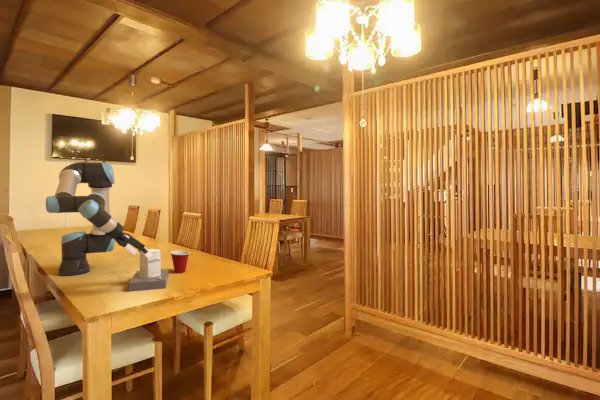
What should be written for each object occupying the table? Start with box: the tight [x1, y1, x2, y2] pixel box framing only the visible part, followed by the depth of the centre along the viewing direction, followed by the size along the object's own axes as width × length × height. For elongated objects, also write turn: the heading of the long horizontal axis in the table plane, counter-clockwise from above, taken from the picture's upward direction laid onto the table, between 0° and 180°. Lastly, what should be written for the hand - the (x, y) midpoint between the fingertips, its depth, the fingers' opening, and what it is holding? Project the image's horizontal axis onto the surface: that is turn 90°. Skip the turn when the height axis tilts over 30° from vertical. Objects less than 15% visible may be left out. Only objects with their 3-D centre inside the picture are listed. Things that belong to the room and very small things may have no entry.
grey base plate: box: [128, 268, 170, 292], centre depth 166 cm, size 24×16×5 cm, turn 19°
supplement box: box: [139, 248, 162, 277], centre depth 165 cm, size 7×7×13 cm
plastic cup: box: [169, 250, 191, 274], centre depth 188 cm, size 11×11×12 cm
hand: (142, 254), depth 162 cm, fingers open, 13 cm apart
